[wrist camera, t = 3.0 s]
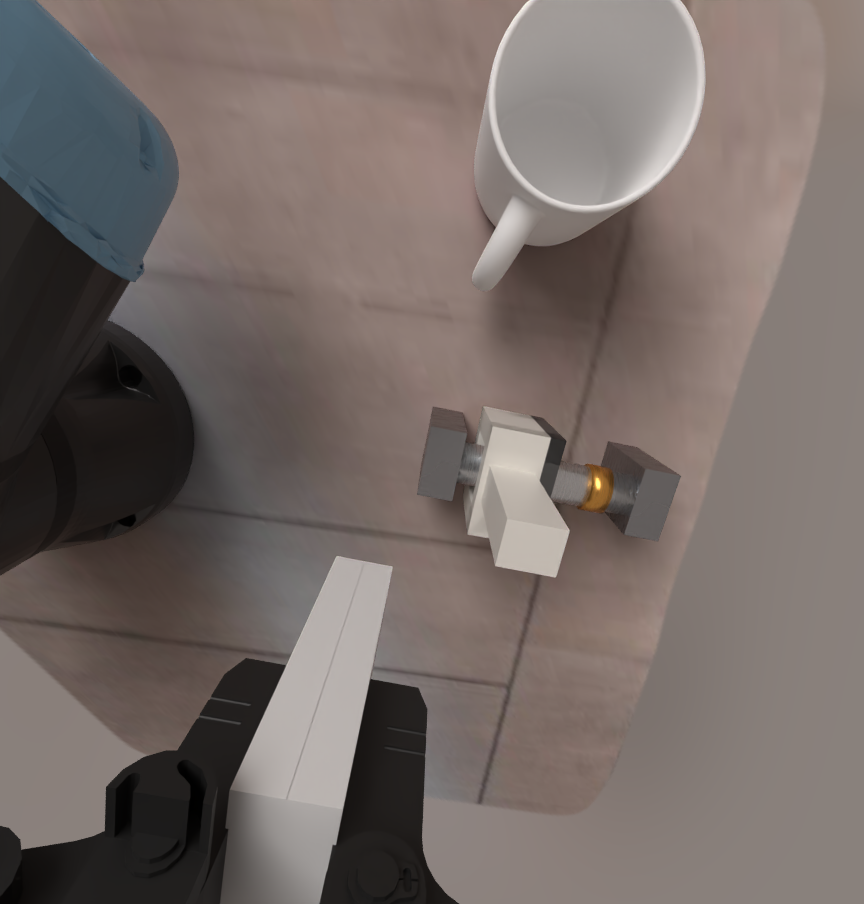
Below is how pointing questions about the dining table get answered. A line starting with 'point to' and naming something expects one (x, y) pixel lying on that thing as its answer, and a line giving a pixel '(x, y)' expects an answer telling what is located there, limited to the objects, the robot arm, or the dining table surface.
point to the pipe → (560, 478)
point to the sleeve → (517, 492)
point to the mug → (582, 118)
